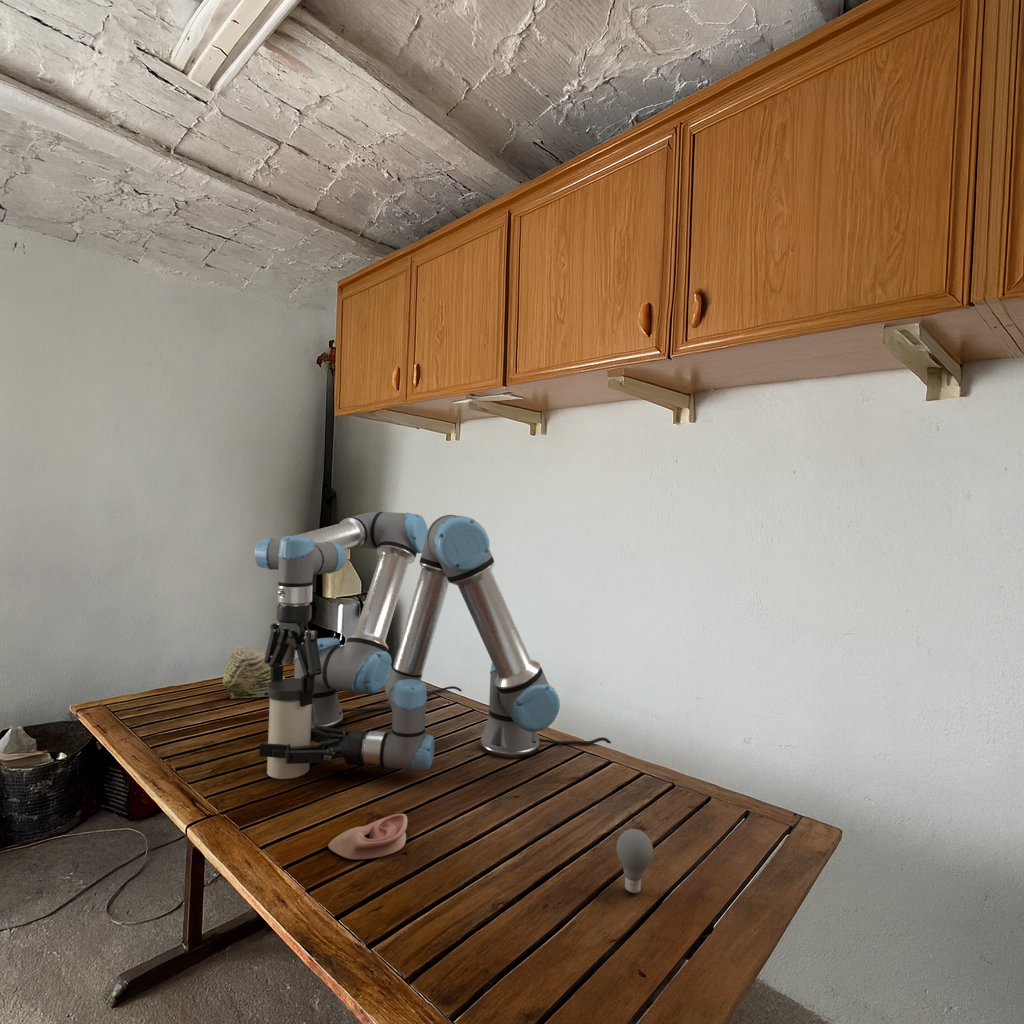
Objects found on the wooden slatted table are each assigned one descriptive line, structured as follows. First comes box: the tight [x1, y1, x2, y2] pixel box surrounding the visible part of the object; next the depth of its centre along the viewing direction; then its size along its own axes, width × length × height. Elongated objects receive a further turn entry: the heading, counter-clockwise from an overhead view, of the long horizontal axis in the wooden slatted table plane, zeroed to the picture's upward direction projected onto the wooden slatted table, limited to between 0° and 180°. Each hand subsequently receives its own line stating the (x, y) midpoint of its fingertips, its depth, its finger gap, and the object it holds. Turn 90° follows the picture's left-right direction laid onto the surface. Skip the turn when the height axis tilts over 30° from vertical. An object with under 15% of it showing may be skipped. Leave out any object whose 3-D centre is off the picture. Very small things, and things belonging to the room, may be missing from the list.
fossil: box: [222, 646, 286, 699], centre depth 198 cm, size 9×18×15 cm, turn 132°
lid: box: [267, 677, 315, 701], centre depth 146 cm, size 10×10×2 cm
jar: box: [266, 698, 312, 780], centre depth 146 cm, size 9×9×19 cm
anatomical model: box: [327, 813, 408, 861], centre depth 116 cm, size 13×4×12 cm
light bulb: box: [615, 828, 654, 894], centre depth 106 cm, size 6×6×10 cm
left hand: (290, 699), depth 146 cm, fingers closed on lid, 10 cm apart
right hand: (270, 741), depth 146 cm, fingers closed on jar, 9 cm apart
